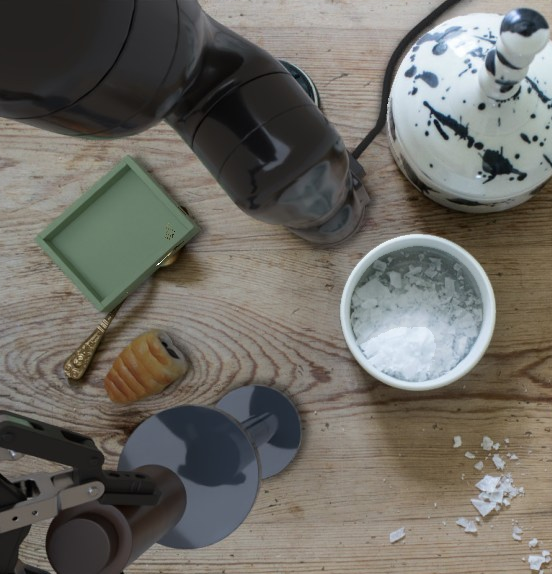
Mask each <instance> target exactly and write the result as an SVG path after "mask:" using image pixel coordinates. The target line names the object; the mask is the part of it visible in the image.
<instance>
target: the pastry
mask: <svg viewBox="0 0 552 574" xmlns="http://www.w3.org/2000/svg"><path fill="white" fill-rule="evenodd" d="M188 368H189V366H188V363H187V360H186V358H185V356H184V354H183V353H182V352H181V351H180V350H179V349H178V348H177V346H175V345H174V344H173V340H172V338H171V337H170V336H169V334H167V332H165V331H163V330H160V329H151V330H150V331H148V332H145V333H142V334H140V335H138V336H137V337H136V338H135V339H133V340H132V341H131V342H130V343H129V344H128V345H126V346H125V347H123V349H122V351H121V352H120V353H119V354H118V355H117V356H116V359H115V360H114V361H113V363H112V365H111V368H110V369H109V371H108V372H107V373H106V374H105V377H104V380H103V382H104V383H103V384H104V389H105V392H106V394H107V395H108V397H109V400H110V402H112V403H115V404H121V405H129V404H131V403H133V402H138V401H143V400H144V399H145V400H146V399H147V398H148V397H150V396H153V395H158V394H160V393H162V392H163V390H164V389H165V387H167V386H169V385H170V384H172V382H174V381H176V380H177V379H178V378H179V377H180V376H182V375H185V374H186V373H187V371H188Z"/></svg>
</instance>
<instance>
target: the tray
mask: <svg viewBox="0 0 552 574" xmlns="http://www.w3.org/2000/svg"><path fill="white" fill-rule="evenodd" d="M178 207H179V208H180V209H181V210H182V211H183V212H184V213H185V214H186V215H185V214H184V213H183V212H182V211H181V210H180V209H179V208H178ZM168 223H169V224H168ZM167 225H168V226H167ZM166 227H167V229H166ZM168 228H169V230H168ZM170 229H171V230H170ZM172 229H173V231H172ZM201 230H202V229H201V227H199V225H198V224H197V223H196V222H195V221H194V220H193V219H192V218H191V216H190V215H188V214H187V212H186V211H185V210H184V209H183V208H182V207H181V206H180V205H179V204H178V203H177V201H176V200H175V198H173V197H172V195H170V194H169V193H168V191H167V190H165V189H164V187H163V186H162V185H161V184H160V183H159V182H158V180H157V179H155V177H153V175H152V174H151V173H150V172H149V171H148V170H147V169H146V168H145V167H144V165H143V164H141V162H139V160H138V159H136V158H134V157H133V156H131V155H129V154H127V155H126V156H124V158H122V159H121V160H120V161H118V163H117V164H116V165H114V166H113V167H112V168H111V169H110V170H109V171H108V172H107V173H106V174H105V175H103V176H102V177H101V178H100V179H99V180H98V181H96V182H95V183H94V184H93V185H92V186H90V188H89V189H87V190H86V191H85V192H84V193H83V194H82V195H81V196H80V197H79V198H77V199H76V200H75V201H73V203H72V204H71V205H69V207H67V208H66V209H65V210H64V211H63V212H61V214H59V215H58V217H56V218H55V219H54V220H52V222H50V223H49V224H48V225H47V226H46V227H45V228H44V229H42V230H41V232H39V234H37V235H36V236H35V237H34V238H33V241H34V243H36V244H37V246H39V247H40V249H41V250H42V251H43V252H44V253H45V254H46V255H47V256H48V257H49V259H50V260H52V262H53V263H54V264H55V265H56V266H57V267H58V269H60V271H62V273H63V274H64V275H65V276H66V277H67V279H69V280H70V281H71V283H72V284H73V285H74V286H75V287H76V288H77V290H79V291H80V292H81V294H83V296H84V297H85V298H86V299H87V300H88V301H89V302H90V304H92V306H93V307H94V308H95V309H96V310H97V311H98V313H112V311H113V310H114V309H116V307H118V306H119V305H120V304H121V303H122V302H123V301H124V300H126V299H127V298H128V296H130V295H131V294H132V293H133V292H134V291H136V289H138V288H139V287H140V286H141V285H142V284H143V283H144V282H145V281H146V280H147V279H149V278H150V277H151V276H152V275H153V274H154V273H155V272H156V271H158V269H159V268H161V267H162V266H163V265H164V264H165V263H166V262H167V261H168V260H170V259H171V258H172V257H173V256H174V255H175V254H176V253H178V251H179V250H181V249H182V248H183V247H184V246H185V245H186V244H187V243H188V242H190V241H191V240H192V239H193V238H194V237H195V236H196V235H197V234H198V233H199V232H200V231H201ZM167 231H168V232H167ZM174 231H175V232H174ZM166 232H167V233H166ZM166 234H167V235H166ZM168 234H169V235H168ZM172 234H174V235H173V238H172ZM170 235H171V237H170ZM165 237H166V238H165ZM167 237H168V239H167ZM169 238H170V240H169ZM183 241H184V242H183ZM182 242H183V243H182ZM180 243H182V244H181V245H180V246H179V247H177V248H176V250H174V251H173V252H172V253H171V254H170V255H169V256H167V255H168V254H169V253H170V252H171V251H172V250H173V249H174V248H175V247H176V246H178V245H179V244H180ZM166 256H167V257H166ZM165 257H166V258H165ZM164 258H165V259H164ZM163 259H164V260H163ZM162 260H163V261H162ZM161 261H162V262H161ZM160 262H161V263H160ZM158 263H160V264H159V265H157V264H158ZM156 265H157V266H156ZM127 292H128V293H127ZM126 293H127V294H126ZM122 296H123V297H122ZM121 297H122V298H121Z"/></svg>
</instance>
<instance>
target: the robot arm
mask: <svg viewBox="0 0 552 574" xmlns="http://www.w3.org/2000/svg"><path fill="white" fill-rule="evenodd" d="M460 1H461V0H444V1H443V2H442V3H441V4H439V5H438V6H437V7H436V8H434V10H432V11H431V12H430V13H429V14H427V16H425V17H424V18H423V19H422V20H421V21H419V22H418V23H417V24H416V25H415V26H413V28H411V30H409V31H408V32H407V34H405V36H404V37H403V38H402V39H401V40H400V42H399V43H398V44H397V46H396V47H395V49H394V50H393V53H392V54H391V56H390V58H389V61H388V63H387V65H386V70H385V73H384V77H383V82H382V83H383V84H382V92H381V103H380V109H379V115H378V119H377V121H376V124H375V125H374V127H373V128H372V129H371V130H370V131H369V132H368V133H367V135H365V137H364V138H363V139H362V141H360V143H359V144H358V145H357V146H356V148H355V149H354V150H353V151H352V152H350V151H348V150H347V148H346V144H345V143H344V139H343V137H342V135H340V133H339V131H338V130H337V129H336V127H335V126H334V125H333V123H332V121H330V120H329V118H327V116H326V115H325V114H324V113H323V112H322V110H321V109H320V108H319V106H318V105H317V104H316V103H315V101H314V100H313V99H312V98H311V96H309V93H307V91H306V90H305V89H304V88H303V86H302V85H300V83H299V82H298V81H297V79H295V77H294V76H293V75H292V74H291V72H290V71H289V70H288V69H287V68H286V66H285V65H284V64H283V63H282V62H281V61H280V60H278V59H277V58H276V57H275V56H273V54H272V53H270V52H269V51H267V50H265V49H264V48H262V47H261V46H259V45H258V44H256V43H255V42H253V41H251V40H249V39H248V38H246V37H244V36H243V35H241V34H239V33H237V32H235V31H234V30H232V29H231V28H229V27H227V26H225V25H224V24H222V23H221V22H219V21H218V20H216V19H215V18H213V17H212V16H211V15H209V13H207V12H206V11H205V10H204V9H203V7H202V5H201V4H200V2H199V0H0V118H2V119H5V120H9V121H13V122H17V123H19V124H22V125H27V126H30V127H33V128H37V129H40V130H44V131H47V132H49V133H52V134H57V135H61V136H67V137H70V138H77V139H82V140H88V141H115V140H121V139H126V138H129V137H134V136H138V135H140V134H143V133H144V132H146V131H148V130H150V129H152V128H155V127H156V126H158V125H160V124H161V123H162V122H164V123H165V124H167V125H168V126H169V127H171V128H172V129H173V131H174V132H175V133H176V134H178V136H179V137H180V138H181V140H182V141H183V142H184V143H185V144H186V145H187V147H188V148H189V149H190V151H192V153H193V154H194V155H195V157H196V158H197V159H198V161H200V163H201V164H202V165H203V167H204V168H205V169H206V170H207V171H208V173H209V174H210V175H211V176H212V178H213V179H214V180H215V182H217V184H218V185H219V186H220V188H221V189H222V190H223V191H224V193H225V194H226V195H227V196H228V198H229V199H230V200H231V202H233V204H234V205H235V206H236V207H237V208H238V209H239V210H240V211H241V212H243V214H245V215H246V216H248V217H250V218H251V219H254V220H257V221H259V222H261V223H263V224H266V225H270V226H283V227H284V228H285V229H287V230H289V231H290V232H292V233H293V234H295V235H296V236H297V237H298V238H300V239H301V240H303V241H304V242H306V243H308V244H311V245H313V246H316V247H333V246H334V247H335V246H338V245H340V244H343V243H345V242H346V241H348V240H349V239H351V238H352V237H353V236H354V235H355V234H356V233H357V232H358V230H359V229H360V227H361V225H362V223H363V220H364V217H365V212H366V211H365V210H366V206H367V205H369V203H370V202H371V199H370V197H369V195H368V192H367V190H366V188H365V186H364V184H363V182H362V181H361V180H363V179H364V178H365V177H366V176H367V173H366V170H365V168H364V167H363V165H362V164H361V163H360V162H359V161H358V159H359V158H360V157H361V155H362V154H363V153H364V152H365V151H366V149H367V148H368V147H369V146H370V145H371V144H372V142H373V141H374V140H375V139H376V138H377V136H378V135H379V134H380V133H381V132H382V131H383V129H384V127H385V125H386V121H387V118H386V114H387V115H388V113H387V104H388V98H389V99H390V97H389V94H391V88H392V87H391V86H392V80H393V75H394V72H395V68H396V66H397V63H398V62H399V59H400V58H401V56H402V55H403V53H404V52H405V50H406V48H407V47H408V46H409V45H410V43H411V42H413V40H414V39H415V38H416V37H417V36H418V35H419V34H420V33H422V31H424V30H425V29H426V28H427V27H428V26H430V25H431V24H432V23H433V22H434V21H435V20H437V19H438V18H439V17H440V16H442V15H443V14H444V13H445V12H447V11H448V10H449V9H450V8H452V7H453V6H454V5H456V4H457V3H458V2H460ZM26 455H28V456H31V457H35V458H37V459H38V458H39V459H42V460H46V461H49V462H53V463H56V464H59V465H63V466H67V467H68V468H64V469H59V470H56V471H51V472H49V471H44V470H42V471H36V472H32V473H28V474H24V475H21V476H16V477H13V478H9V479H8V478H7V477H6V476H5V475H4V474H2V473H1V472H0V574H52V572H51V571H48V570H45V569H43V568H40V567H37V566H34V565H31V564H28V563H26V562H24V561H22V560H21V559H20V558H19V554H20V553H19V552H20V547H21V545H22V543H23V542H24V541H25V539H26V538H27V537H28V535H29V533H30V531H31V528H32V526H33V524H36V523H40V522H43V521H46V520H50V519H53V518H54V517H55V516H57V515H58V514H59V513H60V512H61V511H62V510H64V509H67V508H71V507H74V506H77V505H81V504H84V503H88V502H91V501H94V500H98V502H99V503H100V505H138V506H157V505H158V504H159V502H160V499H161V496H162V494H163V493H162V492H161V490H160V489H159V488H158V487H157V485H156V484H155V483H154V482H153V480H152V479H151V478H150V477H149V475H147V474H145V473H143V472H132V471H117V469H116V470H115V469H114V470H113V469H103V465H104V464H105V461H106V457H105V455H104V453H103V452H102V451H101V450H100V449H99V447H98V446H97V445H96V441H94V440H93V438H92V437H91V436H89V435H86V434H82V433H80V432H77V431H73V430H70V429H67V428H64V427H61V426H57V425H54V424H51V423H48V422H46V421H45V422H44V421H41V420H38V419H35V418H31V417H29V416H26V415H22V414H19V413H16V412H12V411H9V410H7V409H0V462H4V461H8V462H16V461H19V460H21V459H22V458H24V457H25V456H26ZM120 574H125V572H124V570H123V571H122V572H121V573H120Z"/></svg>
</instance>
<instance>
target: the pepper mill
mask: <svg viewBox="0 0 552 574" xmlns="http://www.w3.org/2000/svg"><path fill="white" fill-rule="evenodd" d="M132 472H143V473H145V474H147V475H149V477H150V478H151V479H152V480H153V482H154V483H155V484H156V485H157V487H158V488H159V489H160V490H161V492H162V493H163V494H162V496H161V499H160V502H159V504H158V505H157V506H138V505H100V503H99V502H98V500H94V501H91V502H88V503H84V504H81V505H77V506H74V507H71V508H67V509H64V510H62V511H61V512H60V513H59V514H58V515H57V516H55V517H53V518H52V520H51V521H50V523H49V526H48V528H47V530H46V535H45V541H44V542H45V543H44V544H45V546H44V548H45V554H46V559H47V560H48V563H49V565H50V567H51V568H52V570H53V571H54V573H55V574H120V573H121V572H122V571H123V572H124V571H125V570H126V569H127V568H128V567H130V566H131V565H132V564H133V563H134V562H135V561H136V560H138V559H139V558H140V557H141V556H142V555H144V554H145V553H146V552H147V551H148V550H149V549H150V548H151V547H153V546H154V545H156V544H157V543H156V542H157V541H158V540H160V539H161V538H162V537H163V536H164V535H165V534H167V533H168V532H169V531H170V530H171V529H173V528H174V527H175V526H176V525H177V524H178V523H179V521H180V520H181V518H182V517H183V515H184V512H185V509H186V504H187V494H186V490H185V486H184V484H183V482H182V481H181V479H180V478H179V476H178V475H177V474H176V473H175V472H173V471H172V470H170V469H169V468H167V467H164V466H161V465H155V464H148V465H143V466H140V467H138V468H135V469H133V470H132Z"/></svg>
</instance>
